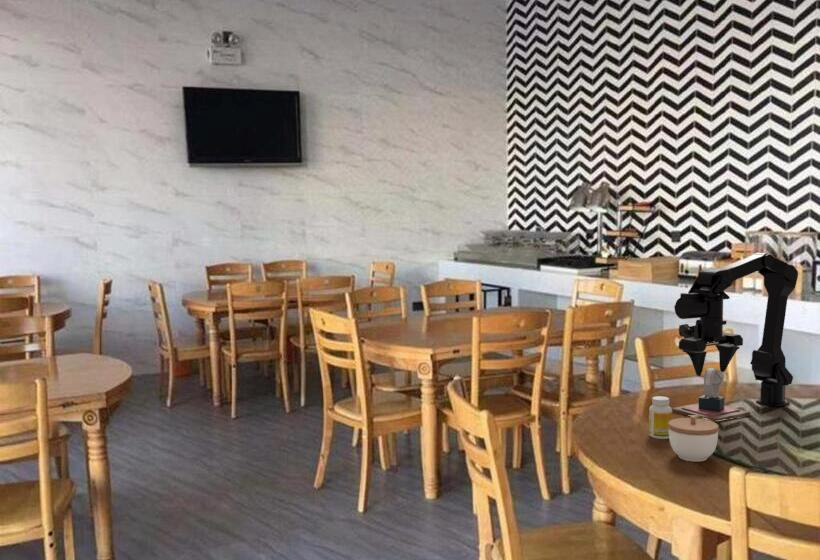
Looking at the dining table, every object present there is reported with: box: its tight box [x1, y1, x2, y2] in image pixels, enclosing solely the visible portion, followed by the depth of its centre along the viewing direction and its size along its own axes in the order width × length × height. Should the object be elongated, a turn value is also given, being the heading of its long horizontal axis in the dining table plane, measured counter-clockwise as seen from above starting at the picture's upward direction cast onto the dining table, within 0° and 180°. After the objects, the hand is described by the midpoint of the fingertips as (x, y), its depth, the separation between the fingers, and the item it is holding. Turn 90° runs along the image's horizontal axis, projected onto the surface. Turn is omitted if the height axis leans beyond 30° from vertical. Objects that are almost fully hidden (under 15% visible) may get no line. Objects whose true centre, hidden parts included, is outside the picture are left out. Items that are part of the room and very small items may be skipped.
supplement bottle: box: [648, 395, 673, 440], centre depth 194 cm, size 5×5×10 cm
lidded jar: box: [668, 416, 720, 463], centre depth 177 cm, size 11×11×9 cm
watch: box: [698, 367, 725, 412], centre depth 214 cm, size 6×8×11 cm
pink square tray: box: [671, 402, 751, 421], centre depth 214 cm, size 14×14×1 cm
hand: (710, 373), depth 213 cm, fingers open, 9 cm apart
